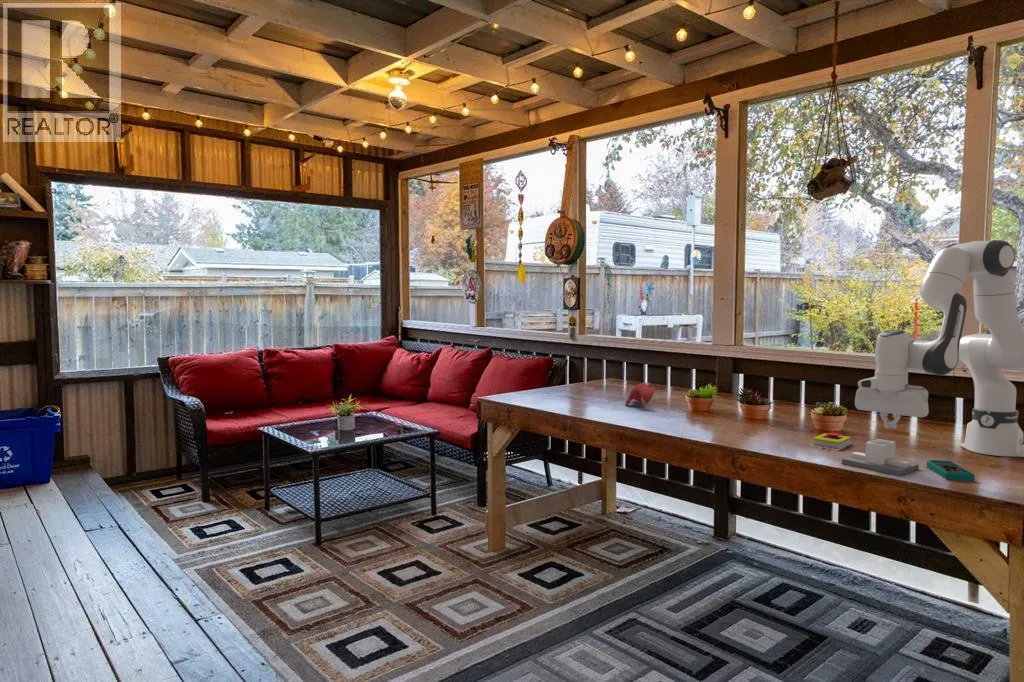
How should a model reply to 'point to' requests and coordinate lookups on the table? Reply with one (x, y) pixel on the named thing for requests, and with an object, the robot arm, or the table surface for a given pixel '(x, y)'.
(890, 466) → the rail board
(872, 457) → the block
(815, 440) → the emergency button
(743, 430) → the table surface
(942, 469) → the digital multimeter
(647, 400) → the decorative bird sculpture
